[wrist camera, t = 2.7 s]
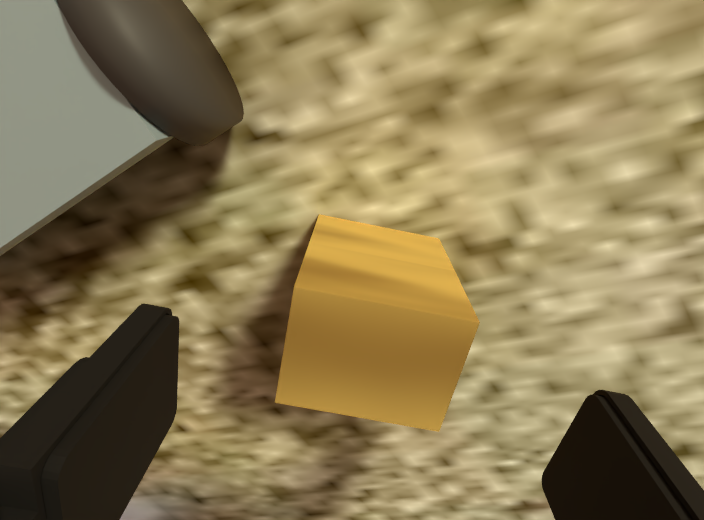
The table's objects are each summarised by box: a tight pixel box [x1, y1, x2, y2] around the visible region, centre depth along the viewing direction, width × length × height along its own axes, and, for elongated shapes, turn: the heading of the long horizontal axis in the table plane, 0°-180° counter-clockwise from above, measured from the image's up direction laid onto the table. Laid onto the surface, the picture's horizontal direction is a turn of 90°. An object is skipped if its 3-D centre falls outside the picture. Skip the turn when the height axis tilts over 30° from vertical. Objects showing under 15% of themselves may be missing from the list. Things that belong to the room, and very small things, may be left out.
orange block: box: [275, 214, 480, 432], centre depth 14 cm, size 6×4×6 cm
